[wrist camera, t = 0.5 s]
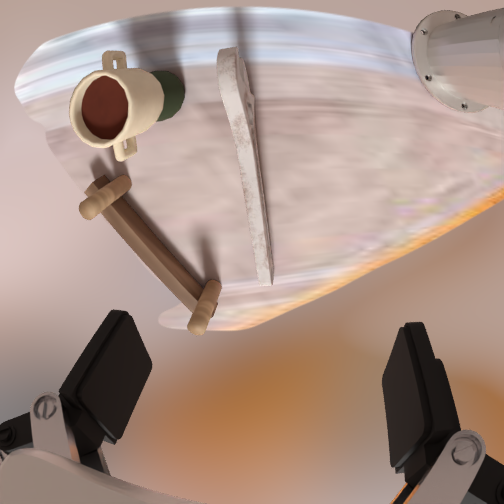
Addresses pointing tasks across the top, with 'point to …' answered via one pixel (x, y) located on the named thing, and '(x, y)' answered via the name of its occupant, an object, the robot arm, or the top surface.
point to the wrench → (246, 153)
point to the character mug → (122, 104)
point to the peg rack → (150, 249)
